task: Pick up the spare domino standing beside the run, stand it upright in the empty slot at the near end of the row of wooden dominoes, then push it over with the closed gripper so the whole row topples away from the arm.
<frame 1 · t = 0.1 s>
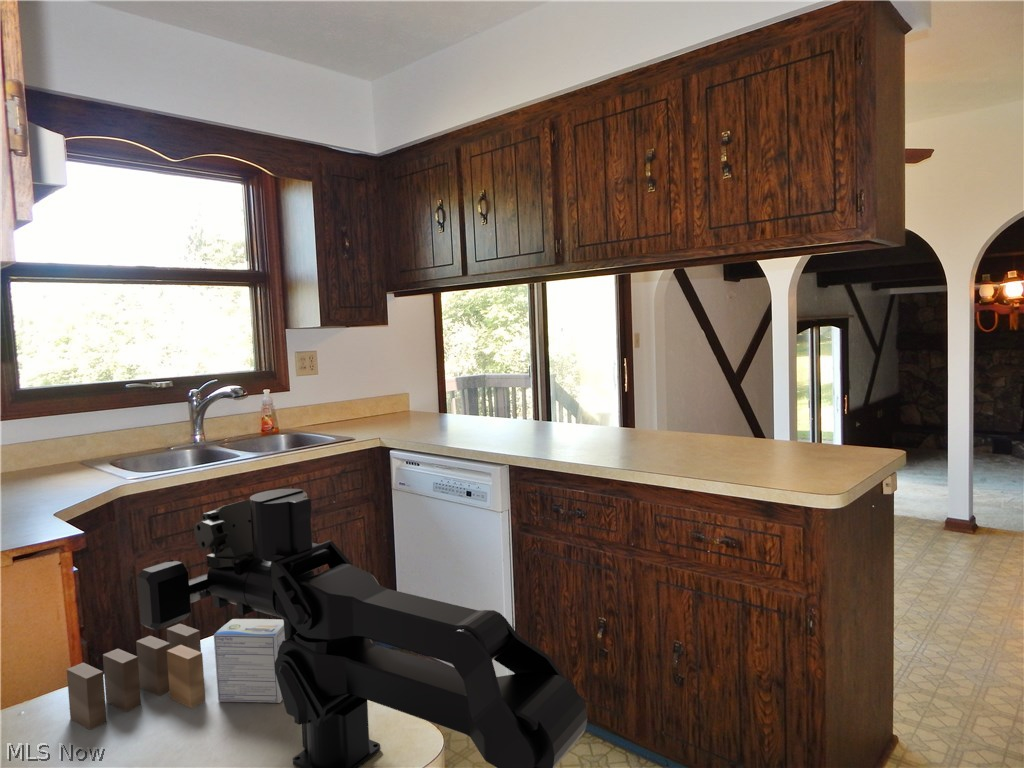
hand: (182, 562, 81), 17 cm above the kitchen counter, tool horizontal, fingers open, 9 cm apart
domino 2: (186, 674, 87), on the kitchen counter
domino 1: (187, 699, 81), on the kitchen counter
domino 3: (156, 688, 84), on the kitchen counter
domino 4: (123, 703, 80), on the kitchen counter
domino 5: (88, 720, 77), on the kitchen counter
medicine box: (257, 695, 82), on the kitchen counter
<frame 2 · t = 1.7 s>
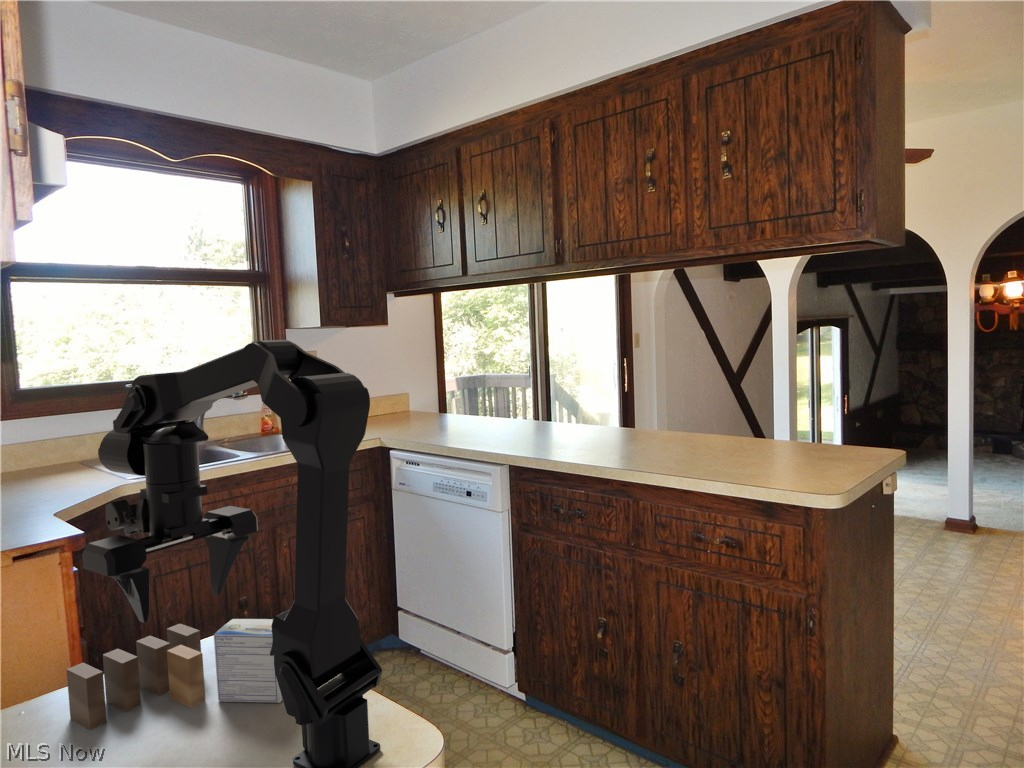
hand: (181, 607, 80), 11 cm above the kitchen counter, tool pointing down, fingers open, 9 cm apart
nothing on the kitchen counter moved.
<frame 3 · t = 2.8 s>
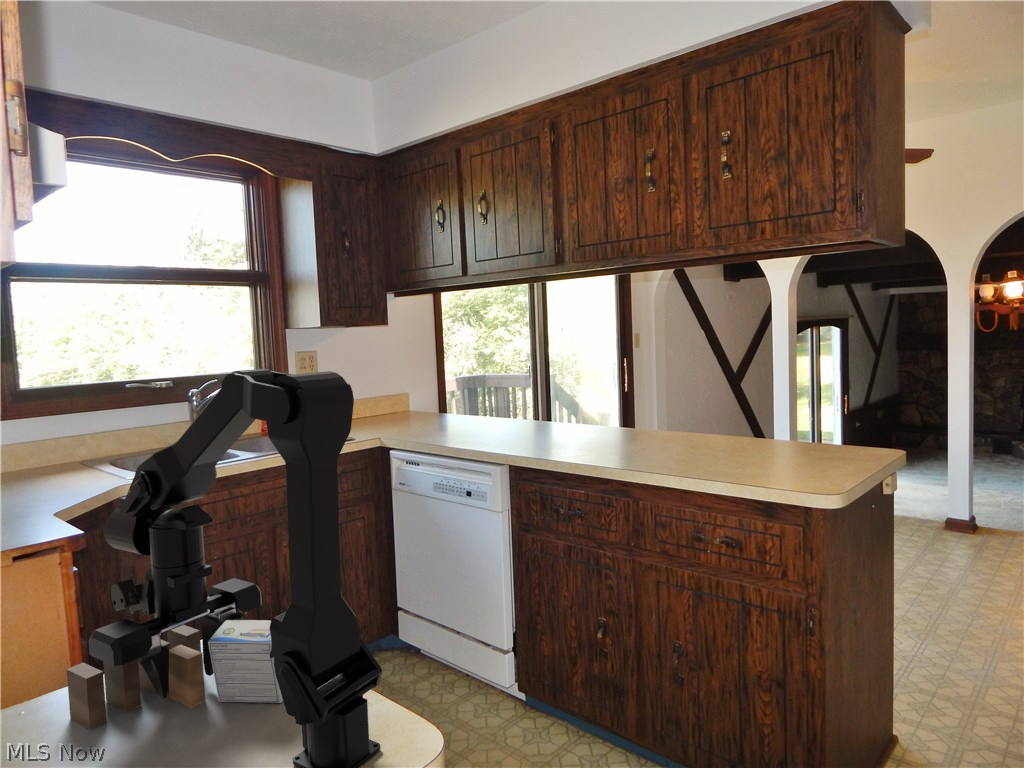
hand: (186, 685, 81), 2 cm above the kitchen counter, tool pointing down, fingers open, 6 cm apart
medicine box: (258, 693, 82), on the kitchen counter, touching gripper
everything else where it was.
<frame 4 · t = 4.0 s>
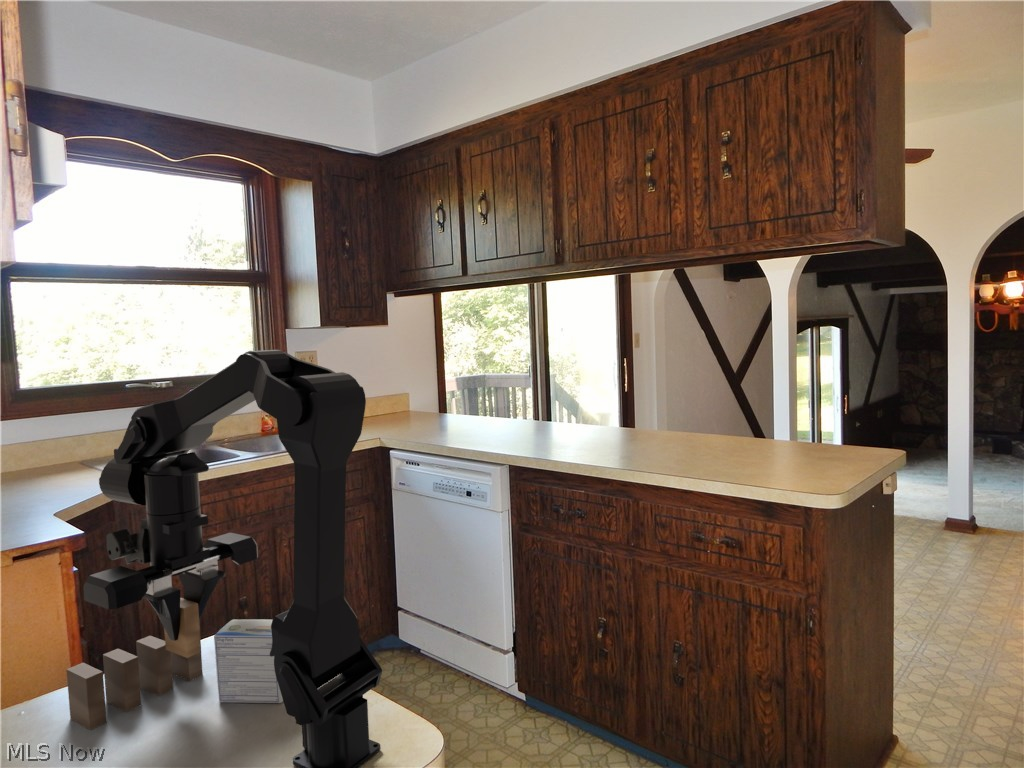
hand: (182, 636, 81), 8 cm above the kitchen counter, tool pointing down, fingers closed on domino 1
domino 1: (183, 650, 81), point 6 cm above the kitchen counter, touching gripper
medicine box: (258, 696, 82), on the kitchen counter
everything else where it was.
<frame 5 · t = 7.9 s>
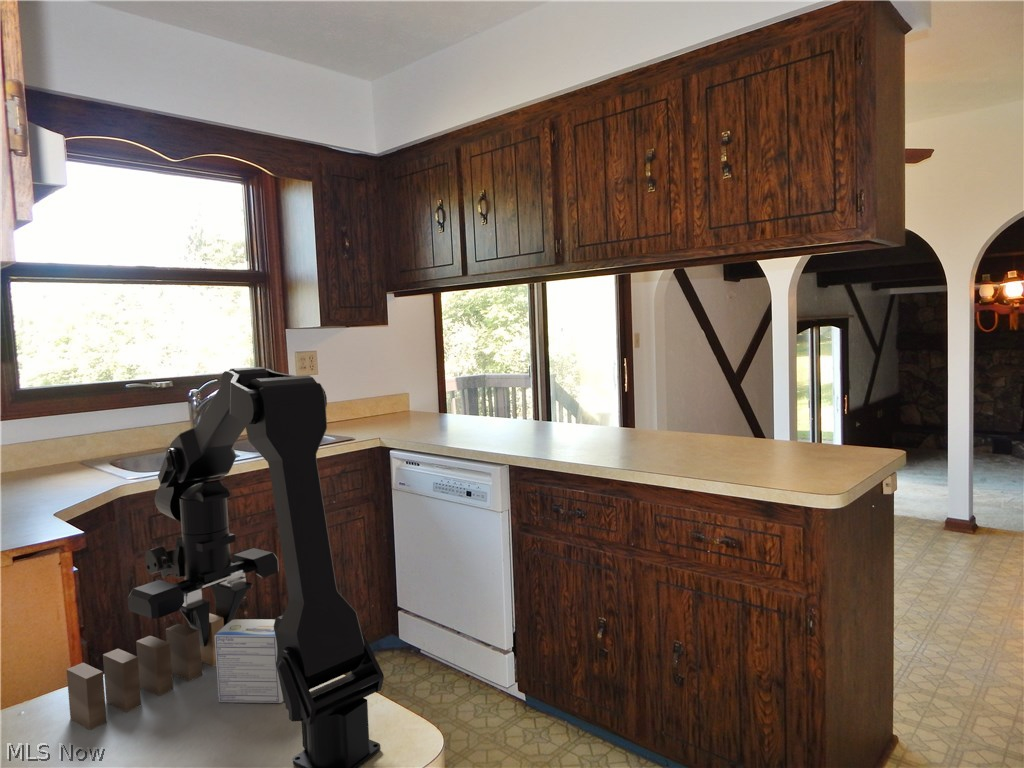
hand: (212, 641, 90), 3 cm above the kitchen counter, tool pointing down, fingers closed
domino 1: (210, 659, 91), on the kitchen counter
everything else where it was.
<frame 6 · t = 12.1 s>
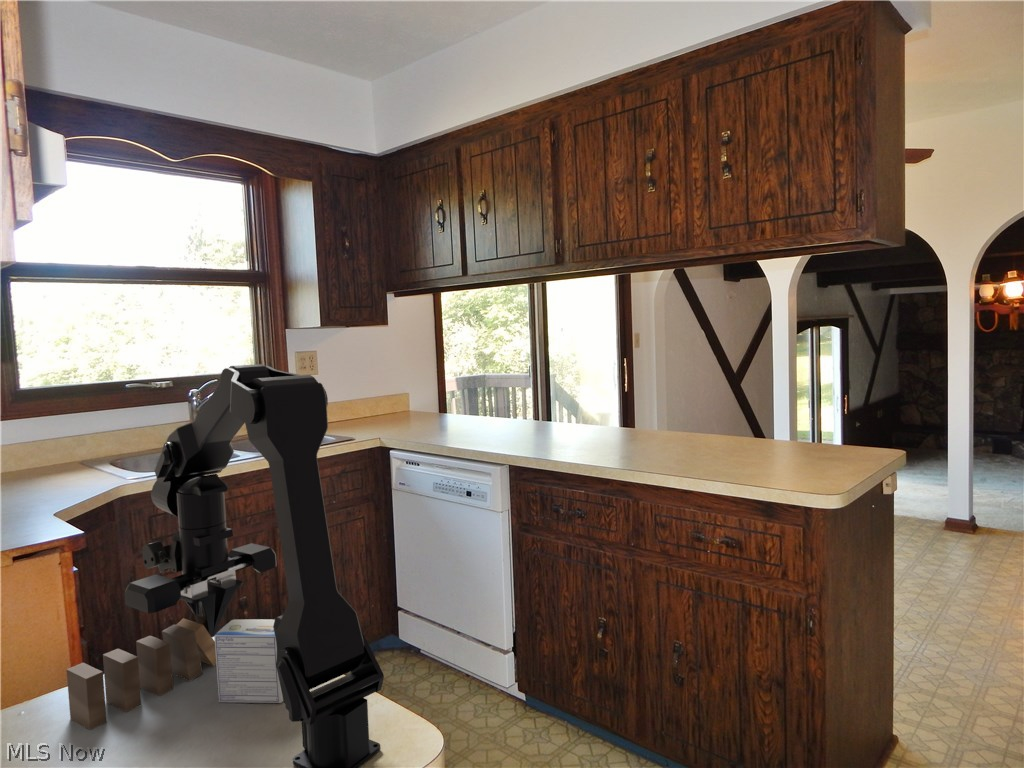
hand: (209, 636, 90), 3 cm above the kitchen counter, tool pointing down, fingers closed
domino 2: (186, 673, 87), on the kitchen counter, tilted 7°
domino 1: (209, 656, 91), on the kitchen counter, tilted 27°, touching gripper
everything else where it was.
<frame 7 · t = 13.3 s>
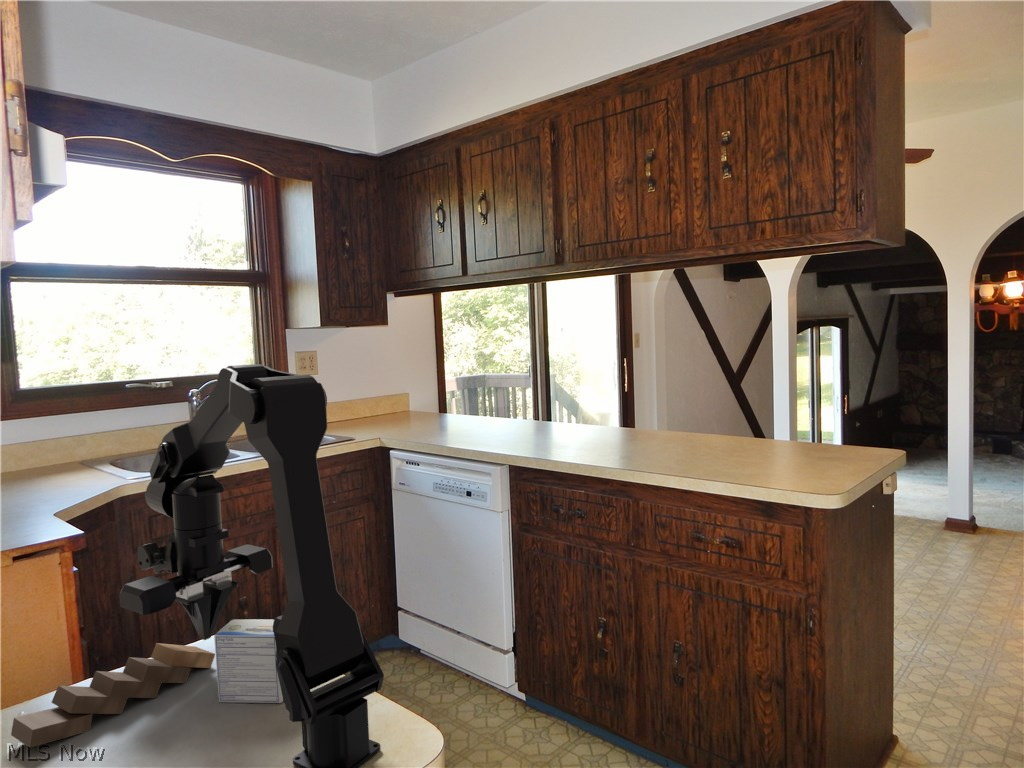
hand: (205, 638, 89), 3 cm above the kitchen counter, tool pointing down, fingers closed
domino 2: (178, 671, 86), point 1 cm above the kitchen counter, tilted 62°, touching domino 1, domino 3
domino 1: (202, 657, 90), point 1 cm above the kitchen counter, tilted 63°, touching domino 2
domino 3: (148, 685, 83), point 1 cm above the kitchen counter, tilted 63°, touching domino 2, domino 4
domino 4: (115, 700, 80), point 1 cm above the kitchen counter, tilted 62°, touching domino 3
domino 5: (81, 716, 76), point 1 cm above the kitchen counter, tilted 77°
everything else where it was.
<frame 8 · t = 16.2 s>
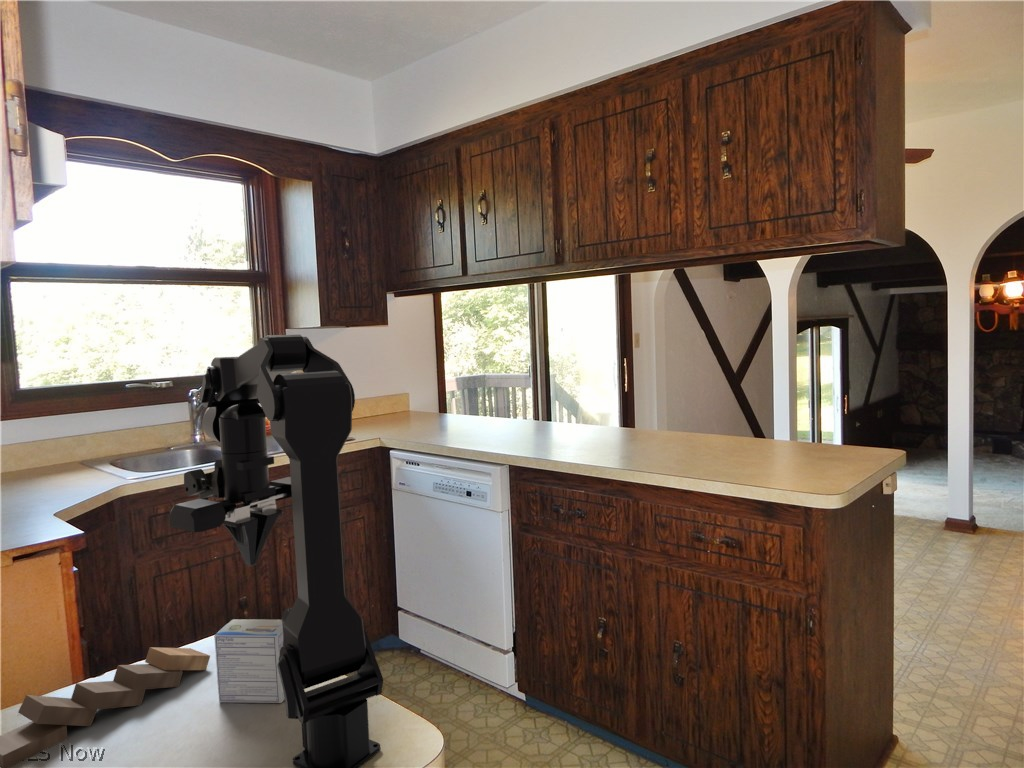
hand: (251, 564, 90), 13 cm above the kitchen counter, tool pointing down, fingers closed
domino 2: (170, 674, 85), point 1 cm above the kitchen counter, tilted 68°, touching domino 1
domino 3: (133, 692, 81), point 1 cm above the kitchen counter, tilted 68°
domino 4: (84, 712, 77), point 1 cm above the kitchen counter, tilted 60°, touching domino 5
domino 5: (57, 727, 75), point 1 cm above the kitchen counter, tilted 90°, touching domino 4
everything else where it was.
at the end: domino 5 tilted 90°; domino 3 tilted 68°; domino 1 inside the target area (1.9 cm from its centre), point 0.8 cm above the kitchen counter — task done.
